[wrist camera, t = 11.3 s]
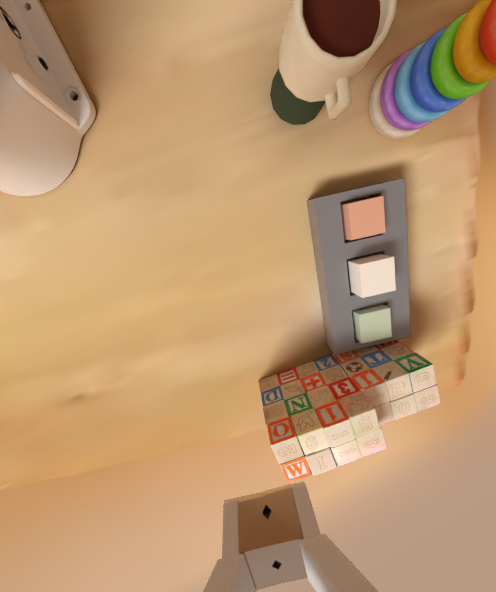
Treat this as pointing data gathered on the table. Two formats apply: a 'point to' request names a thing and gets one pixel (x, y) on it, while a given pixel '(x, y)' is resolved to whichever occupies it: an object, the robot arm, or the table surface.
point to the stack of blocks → (343, 405)
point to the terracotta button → (363, 218)
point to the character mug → (326, 54)
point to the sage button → (372, 323)
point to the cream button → (372, 275)
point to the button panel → (338, 251)
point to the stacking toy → (436, 74)
